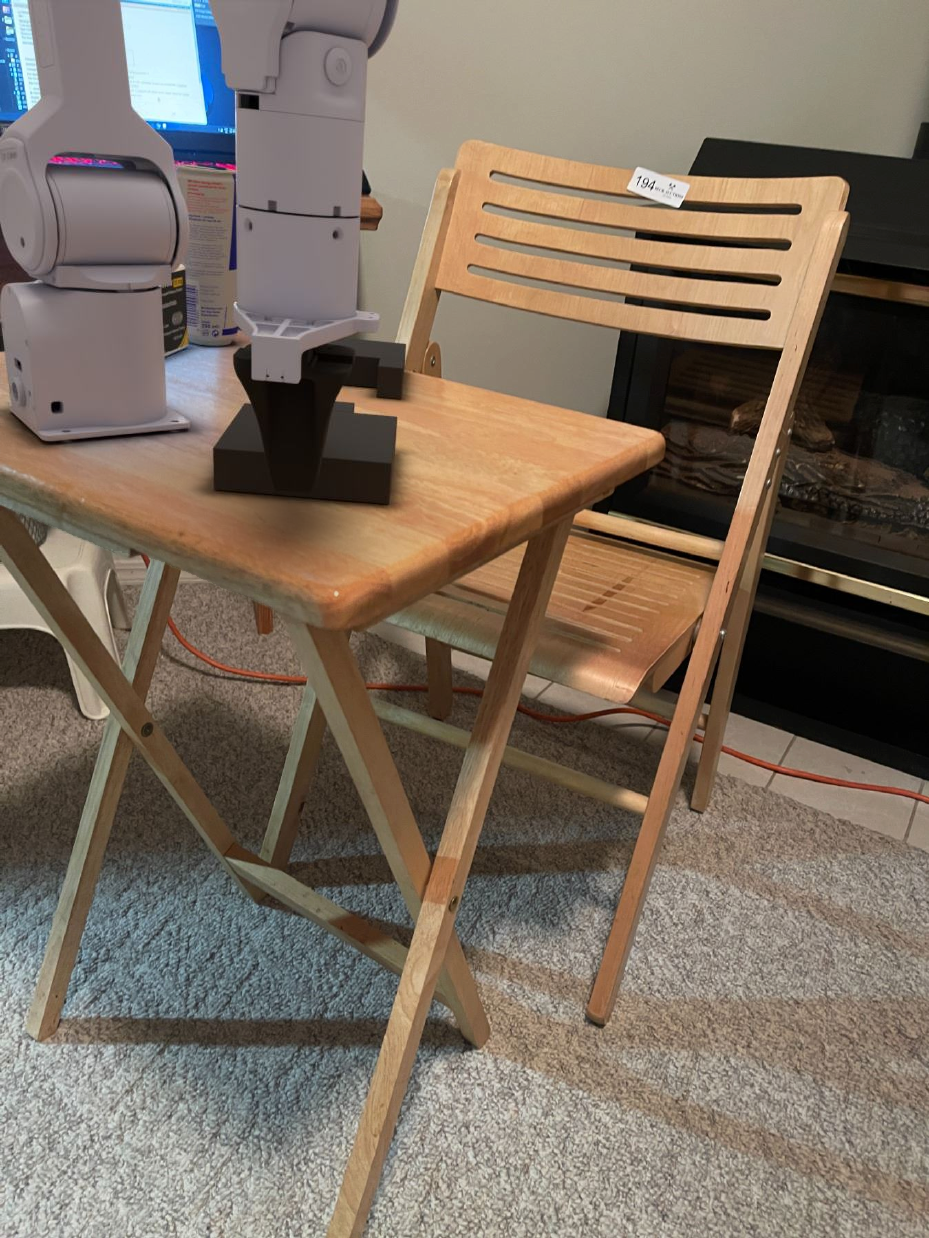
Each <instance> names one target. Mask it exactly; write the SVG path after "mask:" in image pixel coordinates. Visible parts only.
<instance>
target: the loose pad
mask: <svg viewBox="0 0 929 1238" xmlns="http://www.w3.org/2000/svg"><path fill="white" fill-rule="evenodd" d="M397 429H398V416H396V415H395V416H394V415H385V414H373V413H363V412H362V413H361V412H355V402H350V401H340V400H339V401H338V400H335V403H334V407H333V410H332V414H331V418H330V422H329V427H328V432H327V437H326V442H325V447H324V452H323V457H322V462H321V466H320V470H319V474H318V477H317V480H316V483H315V486H314V489H313V491H312V493H302V492H290V491H277V490H274V489H273V486H272V483H271V480H270V476H269V472H268V468H267V463H266V458H265V453H264V448H263V443H262V438H261V433H260V429H259V425H258V422H257V419H256V415H255V413H254V410H253V407H252V405H251V402H250V403H248V402H244V403H243V405H242V406H241V408H240V409H239V410H238V412H237V413H236V414H235V416H234V418H233V419H232V421H231V422H230V423H229V424H228V426H227V427H226V429H225V430H224V432H223V433H222V435H221V436H220V437H219V439H218V440H217V442H216V443H215V444H214V446H213V448H212V462H213V463H212V465H213V472H212V473H213V490H215V491H225V492H238V493H246V494H247V493H248V494H250V493H251V494H260V495H272V496H283V497H284V496H285V497H297V498H309V499H320V500H323V499H324V500H333V501H345V502H358V503H371V504H381V505H382V504H383V505H389V504H390V500H391V492H392V483H393V476H394V475H393V474H394V465H395V457H396V447H397V432H398V431H397Z"/></svg>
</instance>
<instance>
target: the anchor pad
mask: <svg viewBox="0 0 929 1238" xmlns="http://www.w3.org/2000/svg"><path fill="white" fill-rule="evenodd" d="M326 344H332V345H342V346H347V347H351V348H353V349H354V350H355V360H354V363H353V365H352V369H351V372H350V374H349V376H348V378H347V379H346V381H345V383H344V385H343V386H352V387H353V386H354V387H362V388H364V387H365V388H372V389H374V388H375V389H376V397H377V398H386V399H396V400H402V396H403V395H402V394H403V387H404V377H405V366H406V353H407V344H406V343H402V342H391V341H381V340H369V339H360V338H359V339H358V338H349V337H343V338H340V339H338V340H335V341H332V342H329V343H326Z"/></svg>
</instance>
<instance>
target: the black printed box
mask: <svg viewBox="0 0 929 1238" xmlns="http://www.w3.org/2000/svg"><path fill="white" fill-rule="evenodd" d="M160 286H161V292H162V314H163V336H164V358H165V357H168V356H169V355H172V354H174V353H177V352H179V351H181V350H183V349H187V347H189V338H188V328H187V300H186V272H185V267H184V266H183V265H182V264H180V266H179V267H178V269H176V270H175V271H174V272H172V273H171V285H160Z"/></svg>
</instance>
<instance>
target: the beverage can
mask: <svg viewBox="0 0 929 1238" xmlns="http://www.w3.org/2000/svg"><path fill="white" fill-rule="evenodd" d="M175 169H176V175H177V179H178V183H179V187H180V190H181V193H182V195H183V197H184V200H185V203H186V206H187V210H188V216H189V225H190V235H189V243H188V248H187V251H186V254H185V256H184V258H183V261H182V263H181V264H182V265H183V266H184V267H185V272H186V300H187V328H188V342H189V343H192V344H195V345H201V346H209V347H210V346H211V347H219V346H222V347H223V346H227V345H231V343H232V340H234V339H236V338H237V337H238V334H239V327H238V325H237V324H236V323H235V322H234V320H233V305H234V303H235V302H237V228H236V205H237V203H236V176H235V175H236V169H230V168H227V167H225V166H219V165H210V164H203V163H199V164H196V165H194V164H193V165H192V164H175Z"/></svg>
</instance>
